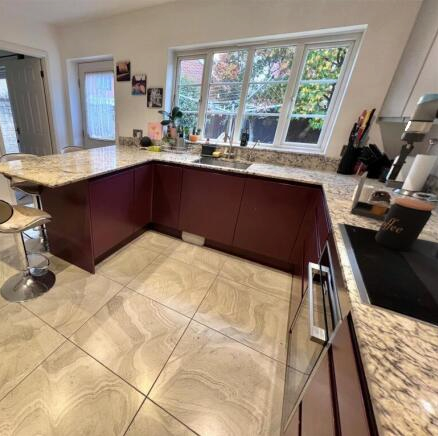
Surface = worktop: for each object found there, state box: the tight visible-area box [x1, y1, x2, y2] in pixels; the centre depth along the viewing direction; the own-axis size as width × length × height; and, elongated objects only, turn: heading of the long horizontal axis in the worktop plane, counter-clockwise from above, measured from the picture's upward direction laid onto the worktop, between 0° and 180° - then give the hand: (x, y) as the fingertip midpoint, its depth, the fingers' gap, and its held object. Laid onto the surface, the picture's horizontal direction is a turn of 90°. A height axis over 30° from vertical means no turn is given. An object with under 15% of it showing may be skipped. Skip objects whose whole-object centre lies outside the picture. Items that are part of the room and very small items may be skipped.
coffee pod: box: [370, 202, 389, 216], centre depth 120 cm, size 6×6×5 cm
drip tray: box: [350, 201, 390, 222], centre depth 122 cm, size 15×19×3 cm
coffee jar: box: [374, 197, 437, 252], centre depth 90 cm, size 11×11×18 cm
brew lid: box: [350, 171, 369, 209], centre depth 123 cm, size 16×19×1 cm
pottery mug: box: [369, 190, 392, 205], centre depth 140 cm, size 12×10×8 cm
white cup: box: [351, 183, 375, 203], centre depth 139 cm, size 8×8×10 cm
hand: (392, 178), depth 114 cm, fingers open, 13 cm apart
